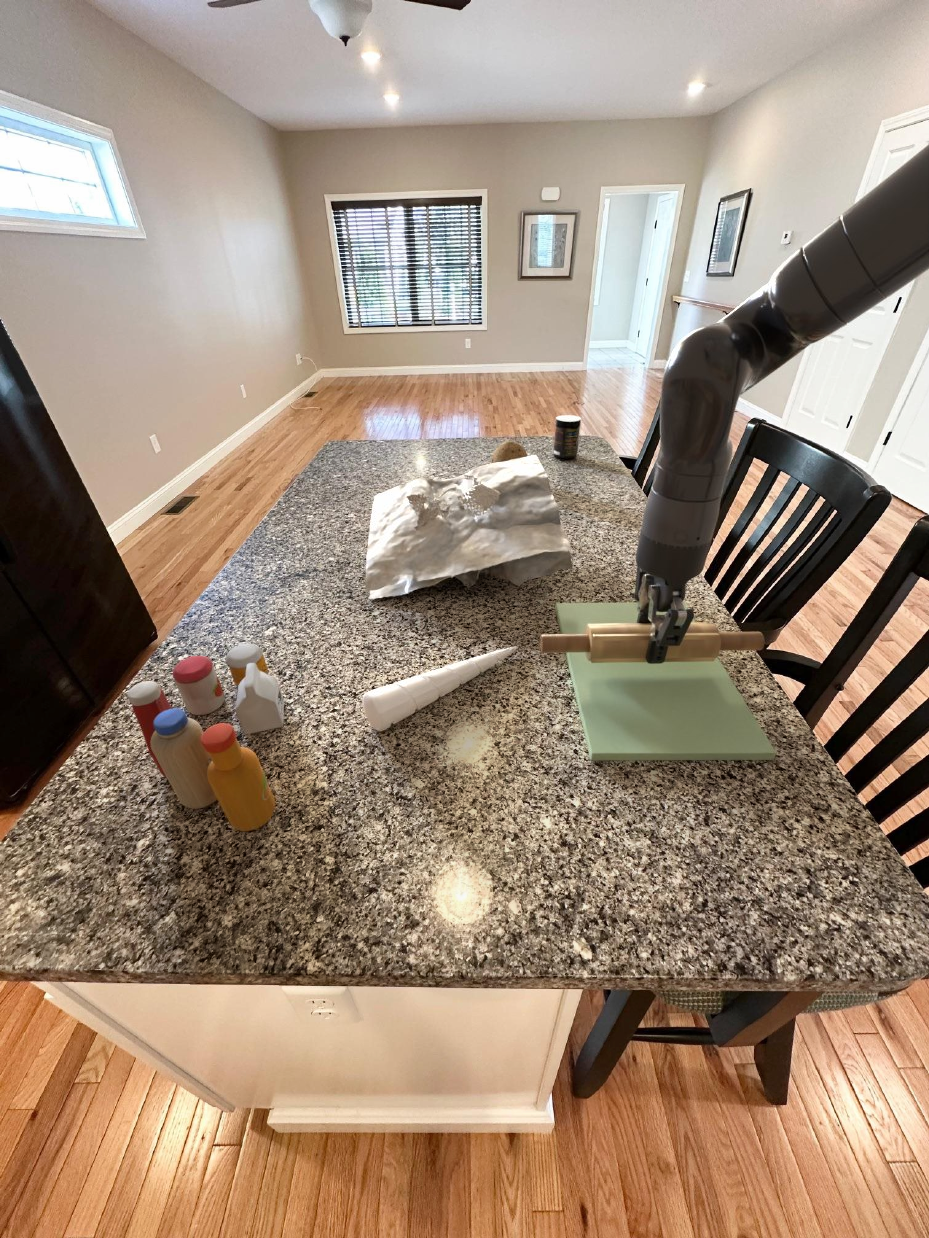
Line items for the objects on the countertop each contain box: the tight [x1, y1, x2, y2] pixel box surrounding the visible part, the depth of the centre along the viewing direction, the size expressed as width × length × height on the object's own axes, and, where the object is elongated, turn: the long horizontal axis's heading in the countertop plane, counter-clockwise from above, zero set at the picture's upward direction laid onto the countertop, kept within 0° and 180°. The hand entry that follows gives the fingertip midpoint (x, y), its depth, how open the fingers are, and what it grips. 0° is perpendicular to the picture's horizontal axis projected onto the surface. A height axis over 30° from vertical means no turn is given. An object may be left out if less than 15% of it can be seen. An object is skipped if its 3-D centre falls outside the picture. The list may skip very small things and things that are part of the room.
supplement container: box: [552, 414, 582, 462], centre depth 140 cm, size 7×7×10 cm
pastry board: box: [554, 601, 777, 761], centre depth 69 cm, size 30×20×1 cm, turn 179°
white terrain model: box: [365, 454, 573, 600], centre depth 95 cm, size 35×16×32 cm
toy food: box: [127, 643, 285, 832], centre depth 57 cm, size 27×13×12 cm, turn 15°
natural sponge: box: [490, 440, 528, 464], centre depth 125 cm, size 9×9×10 cm
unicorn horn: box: [361, 646, 519, 732], centre depth 65 cm, size 5×24×5 cm, turn 124°
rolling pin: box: [539, 621, 766, 663], centre depth 66 cm, size 28×5×5 cm, turn 90°
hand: (648, 648), depth 67 cm, fingers closed on rolling pin, 4 cm apart
